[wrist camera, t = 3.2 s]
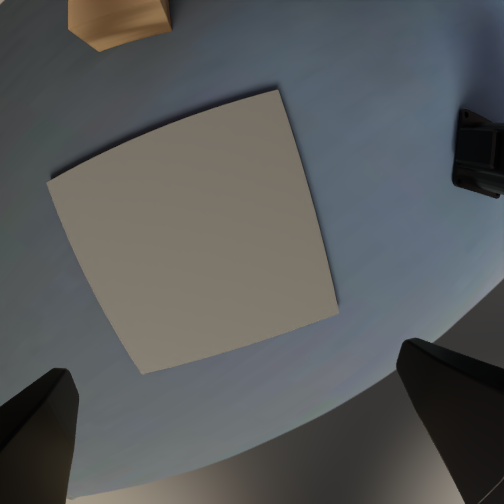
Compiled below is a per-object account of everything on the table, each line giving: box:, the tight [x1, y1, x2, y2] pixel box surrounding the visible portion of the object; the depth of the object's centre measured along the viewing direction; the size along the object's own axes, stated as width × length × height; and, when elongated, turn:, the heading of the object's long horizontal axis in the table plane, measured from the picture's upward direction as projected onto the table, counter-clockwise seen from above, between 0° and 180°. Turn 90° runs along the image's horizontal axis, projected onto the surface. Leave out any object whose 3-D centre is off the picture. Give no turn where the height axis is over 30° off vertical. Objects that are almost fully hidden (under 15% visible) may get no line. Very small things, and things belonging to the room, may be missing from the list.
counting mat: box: [47, 90, 339, 374], centre depth 20 cm, size 16×16×1 cm
